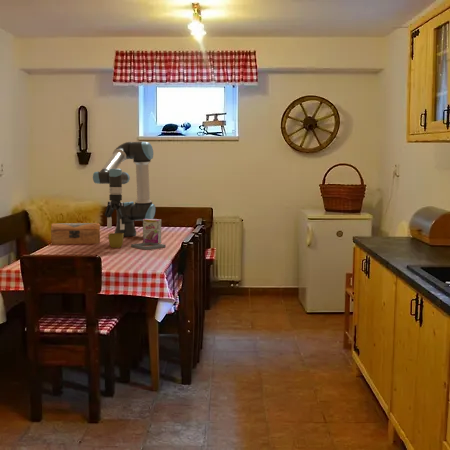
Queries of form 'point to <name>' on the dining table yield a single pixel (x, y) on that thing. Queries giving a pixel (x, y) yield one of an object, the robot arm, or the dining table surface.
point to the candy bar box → (151, 230)
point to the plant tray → (141, 246)
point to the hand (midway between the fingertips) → (115, 228)
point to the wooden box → (75, 233)
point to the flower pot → (116, 239)
